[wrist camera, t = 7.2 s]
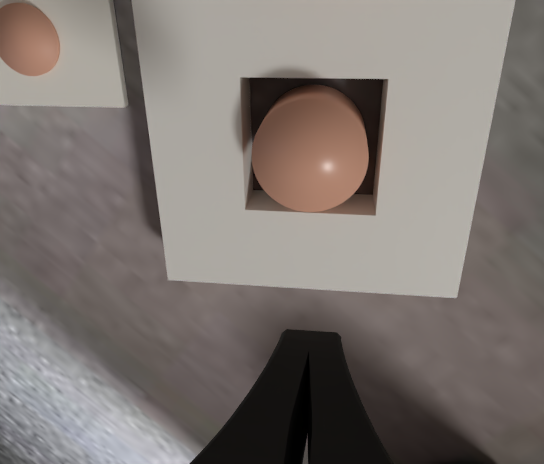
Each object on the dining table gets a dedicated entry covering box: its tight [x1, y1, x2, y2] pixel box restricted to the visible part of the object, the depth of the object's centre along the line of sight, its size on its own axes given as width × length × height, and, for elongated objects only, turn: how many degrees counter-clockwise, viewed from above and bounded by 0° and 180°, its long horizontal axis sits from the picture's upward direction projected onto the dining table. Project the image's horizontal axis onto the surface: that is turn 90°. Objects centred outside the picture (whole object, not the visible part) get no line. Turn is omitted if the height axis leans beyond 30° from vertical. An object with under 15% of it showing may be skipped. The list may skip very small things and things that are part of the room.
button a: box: [251, 85, 369, 212], centre depth 18 cm, size 4×4×2 cm
